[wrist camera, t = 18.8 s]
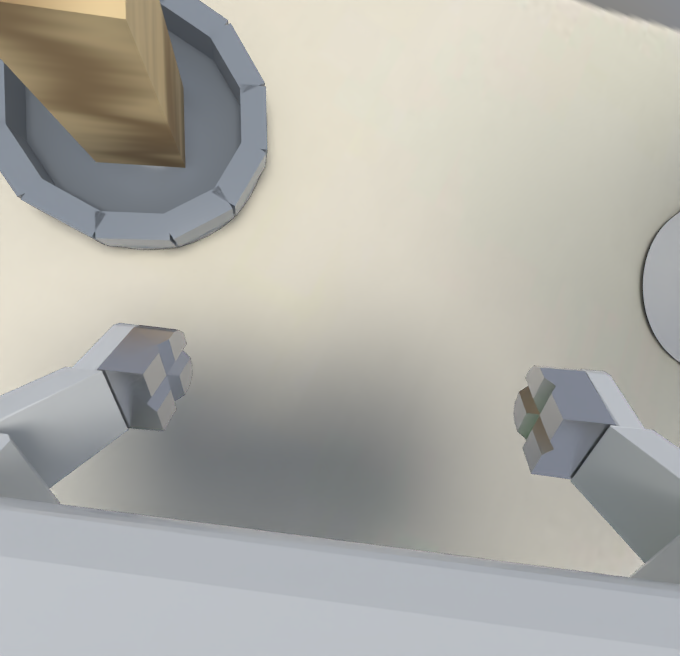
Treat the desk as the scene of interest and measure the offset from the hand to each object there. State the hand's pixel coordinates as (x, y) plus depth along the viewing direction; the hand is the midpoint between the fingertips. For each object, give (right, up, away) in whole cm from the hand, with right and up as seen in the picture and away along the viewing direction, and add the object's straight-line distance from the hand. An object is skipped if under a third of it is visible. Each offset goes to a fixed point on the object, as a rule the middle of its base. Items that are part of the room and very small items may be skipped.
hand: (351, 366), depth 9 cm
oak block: (-12, +13, +14) cm, 23 cm away
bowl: (-13, +13, +15) cm, 24 cm away
